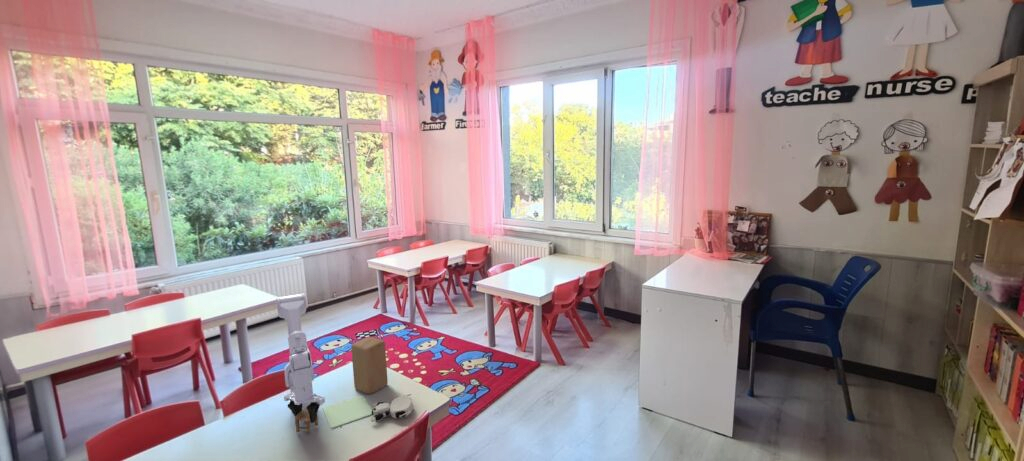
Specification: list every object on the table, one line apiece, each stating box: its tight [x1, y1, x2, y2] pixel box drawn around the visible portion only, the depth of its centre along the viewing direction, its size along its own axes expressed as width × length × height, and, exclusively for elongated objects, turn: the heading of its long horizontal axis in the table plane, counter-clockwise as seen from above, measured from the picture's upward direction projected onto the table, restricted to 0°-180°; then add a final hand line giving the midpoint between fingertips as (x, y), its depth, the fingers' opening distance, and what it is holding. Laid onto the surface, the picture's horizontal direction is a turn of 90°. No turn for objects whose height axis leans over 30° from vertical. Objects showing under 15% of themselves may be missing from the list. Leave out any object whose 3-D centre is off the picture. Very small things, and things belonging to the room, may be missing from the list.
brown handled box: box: [294, 408, 319, 435], centre depth 148 cm, size 5×5×6 cm
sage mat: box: [322, 394, 374, 430], centre depth 160 cm, size 15×15×1 cm
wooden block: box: [350, 336, 388, 395], centre depth 175 cm, size 10×10×20 cm
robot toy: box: [370, 393, 414, 423], centre depth 157 cm, size 12×4×15 cm
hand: (306, 420), depth 148 cm, fingers closed on brown handled box, 5 cm apart
